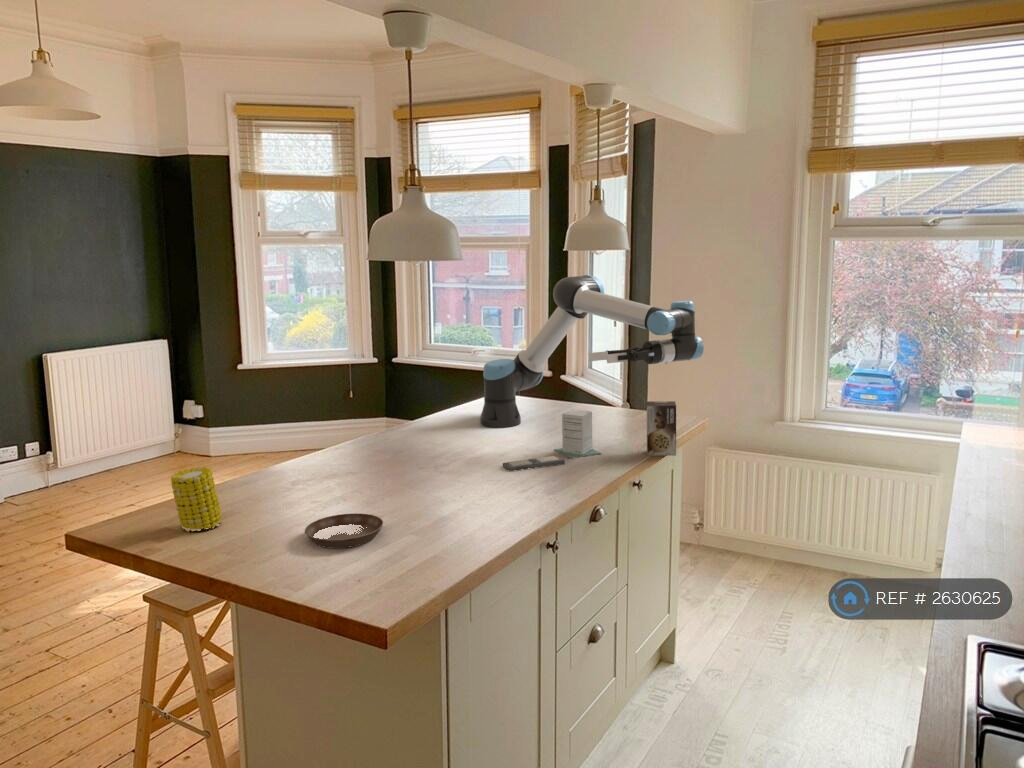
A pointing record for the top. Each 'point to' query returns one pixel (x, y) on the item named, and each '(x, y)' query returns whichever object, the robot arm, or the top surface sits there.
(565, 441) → the supplement box
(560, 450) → the mat
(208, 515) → the food
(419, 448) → the top surface
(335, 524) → the plant saucer
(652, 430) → the coffee box
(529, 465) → the label plate
